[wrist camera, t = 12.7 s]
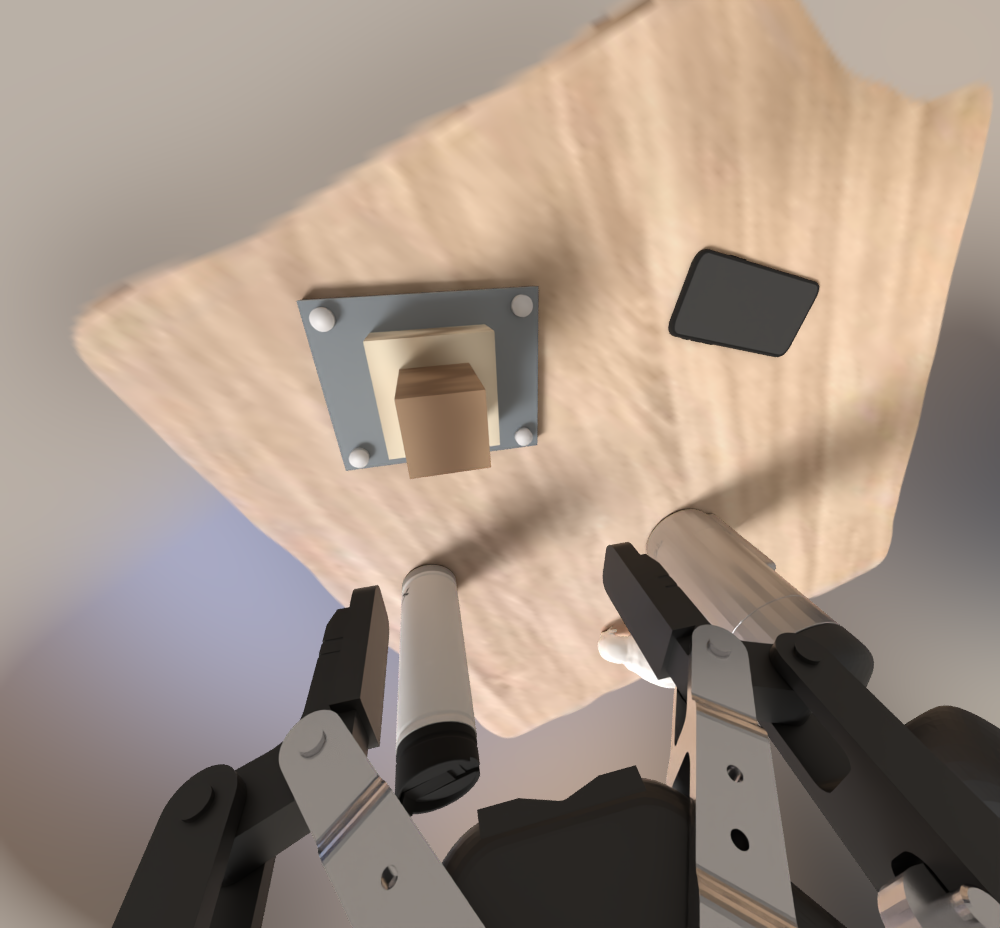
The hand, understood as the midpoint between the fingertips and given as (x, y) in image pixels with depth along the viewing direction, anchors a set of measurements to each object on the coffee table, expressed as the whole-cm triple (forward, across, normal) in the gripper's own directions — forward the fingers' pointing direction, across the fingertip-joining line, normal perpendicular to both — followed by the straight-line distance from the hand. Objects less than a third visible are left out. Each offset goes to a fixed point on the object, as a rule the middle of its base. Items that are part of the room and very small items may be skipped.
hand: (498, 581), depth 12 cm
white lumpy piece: (+24, -23, +40) cm, 52 cm away
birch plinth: (+21, +1, -1) cm, 21 cm away
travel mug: (+23, +5, +23) cm, 33 cm away
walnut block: (+17, +1, -1) cm, 17 cm away
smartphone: (+24, -29, -6) cm, 38 cm away
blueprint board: (+23, +1, -1) cm, 23 cm away
